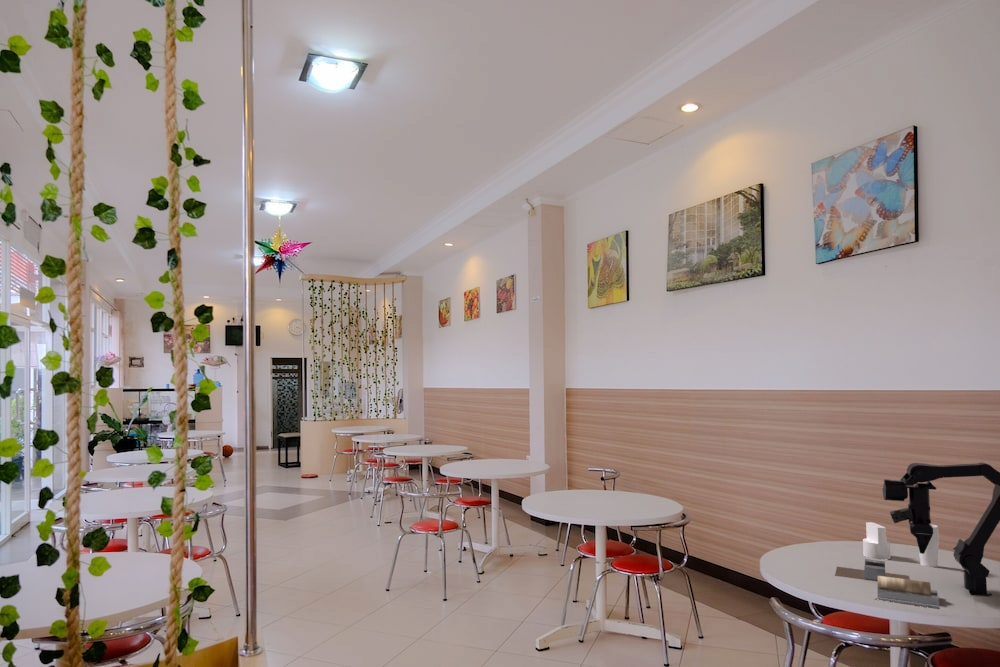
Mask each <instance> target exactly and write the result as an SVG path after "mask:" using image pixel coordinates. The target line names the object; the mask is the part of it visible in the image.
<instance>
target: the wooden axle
mask: <svg viewBox="0 0 1000 667" xmlns="http://www.w3.org/2000/svg"><path fill="white" fill-rule="evenodd" d="M877 588H883V589H890V590H898V591H905V592H912V593H920V594H927V595H931V590H932V587H931V582H930V581H925V580H924V581H922V580H916V579H915V580H914V579H909V580H908V579H900V578H892V577H884V576H878V581H877Z"/></svg>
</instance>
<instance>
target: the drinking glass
mask: <svg viewBox="0 0 1000 667" xmlns="http://www.w3.org/2000/svg"><path fill="white" fill-rule="evenodd" d="M930 525H931V526H932V527H933V536H932V537H931V540H930V542H929V544H928V546H927V548H926V550H925V553H924V554H921V553H920V551H919V547H918V546H917V549H918V555H919V564H920V565H921V566H924V567H929V568H938V566H939V565H938V564H939V561H938V560H939V543H940V535H939V530H940V529H939V526H938V525H936V524H933V523H930Z"/></svg>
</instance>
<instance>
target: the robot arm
mask: <svg viewBox="0 0 1000 667" xmlns="http://www.w3.org/2000/svg"><path fill="white" fill-rule="evenodd" d="M964 477H965V478H966V477H984V478H985V479H986V480H988V481H989V482H990V483H992V484H993V485H994V487H993V490H992V498H991V501H990V502H989V505H988V506H987V507H986V509H985V511H984V513H983V514H982V516H981V518H979V521H978V522H977V524H976V526H975V527H974V529H973V531H972V532H971V534H970V536H969V537H968V538H967V539H965V540H962V539H961V538H959V539H958V541H957V543H956V545H955V547H953V548H952V549H953V550H954V551H953V557H954V559H955V561H956V562H957V563H958V564H959V565H960V566H961V567H962V569H963V585H964V589H965V590H967V591H968V592H969V594H970V595H972V596H993V593H992V592H989V591H988V589H987V587H988V586H987V585H988V584H987V578H988V577H989V574H990V572H991V571H990V569H988V568H987V567H986V566H985V565H984V564H983V563H982V561H983V557H984V551H985V546H986V544H987V543H988V541H989V539H990V538H991V536H992V534H993V533H994V531H995V530H996V528H997V526H998V525H999V524H1000V471H998V470H997V469H995V468H994V467H993V466H992V465H990V464H988V463H986V462H982V461H981V462H978V463H977V462H976V463H959V464H940V465H938V464H930V463H922V462H912V463H910V464H909V465H908V466H907V468H906V473H904V475H903V476H902V477H901V479H899V480H891V479H883V484H882V486H883V487H882V498H883V500H884V501H891V502H892V501H893V502H904V501H905V500H907V499H909V500H908V504H907V507H906V508H905V507H904V508H899V509H896V510H891V511H889V515H890V517H891V519H892V521H893V523H894V524H898V523H901V522H904V521H908V524H909V530H910V531H909V533H910V534H911V535H913V536H914V538H915V539H916V542H917V548H918V547H919V549H918V552H919V551H920V553H921V554H924V553H925V550H926V548H927V546H928V544H929V542H930V540H931V537H932V536H933V527H932V526H931V525H930V524H932V520H931V505H930V504H931V503H930V502H931V500H930V490H937V487H936V486H935V485H933V483H932V482H933V481H935V480H939V479H943V478H946V479H947V478H964Z"/></svg>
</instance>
